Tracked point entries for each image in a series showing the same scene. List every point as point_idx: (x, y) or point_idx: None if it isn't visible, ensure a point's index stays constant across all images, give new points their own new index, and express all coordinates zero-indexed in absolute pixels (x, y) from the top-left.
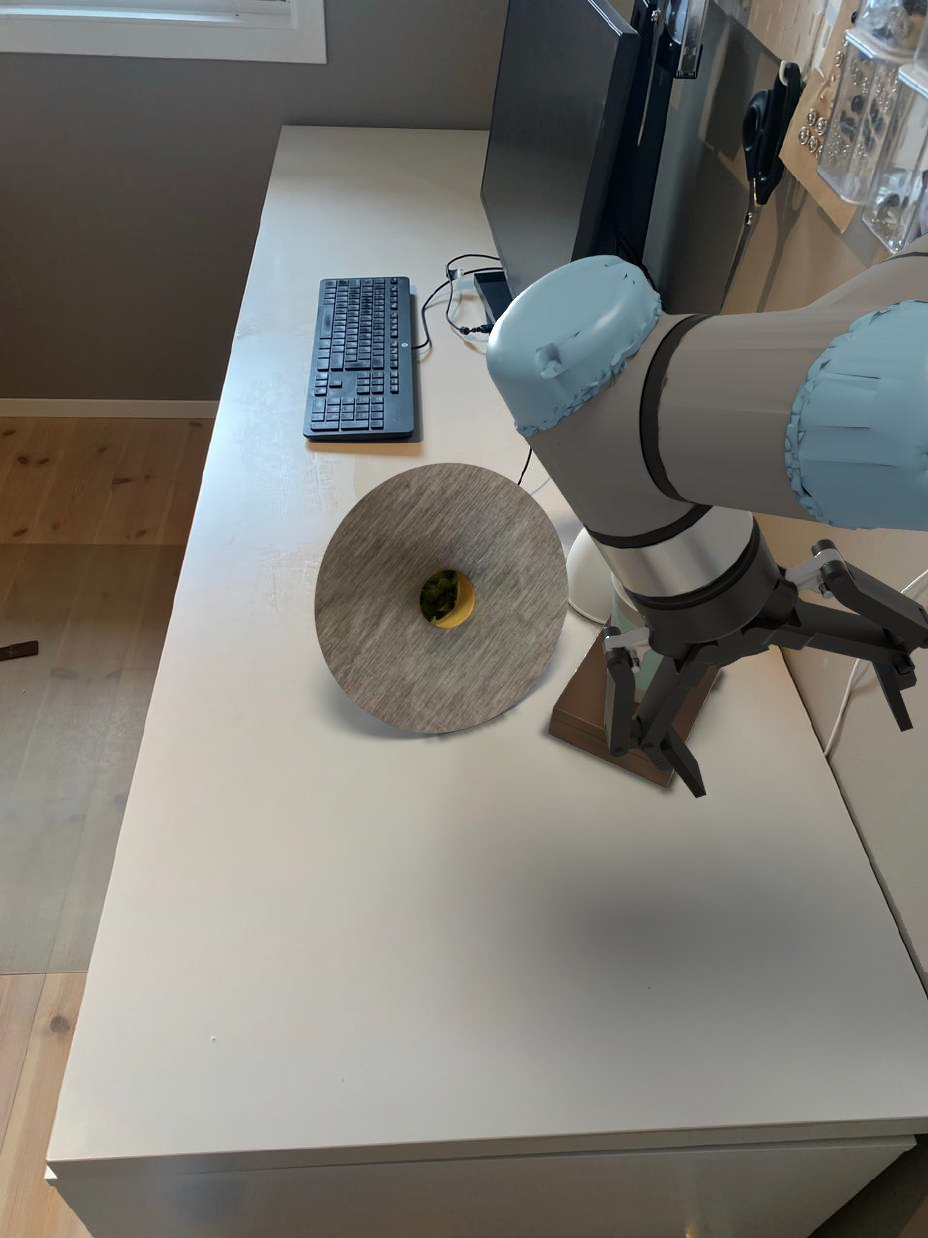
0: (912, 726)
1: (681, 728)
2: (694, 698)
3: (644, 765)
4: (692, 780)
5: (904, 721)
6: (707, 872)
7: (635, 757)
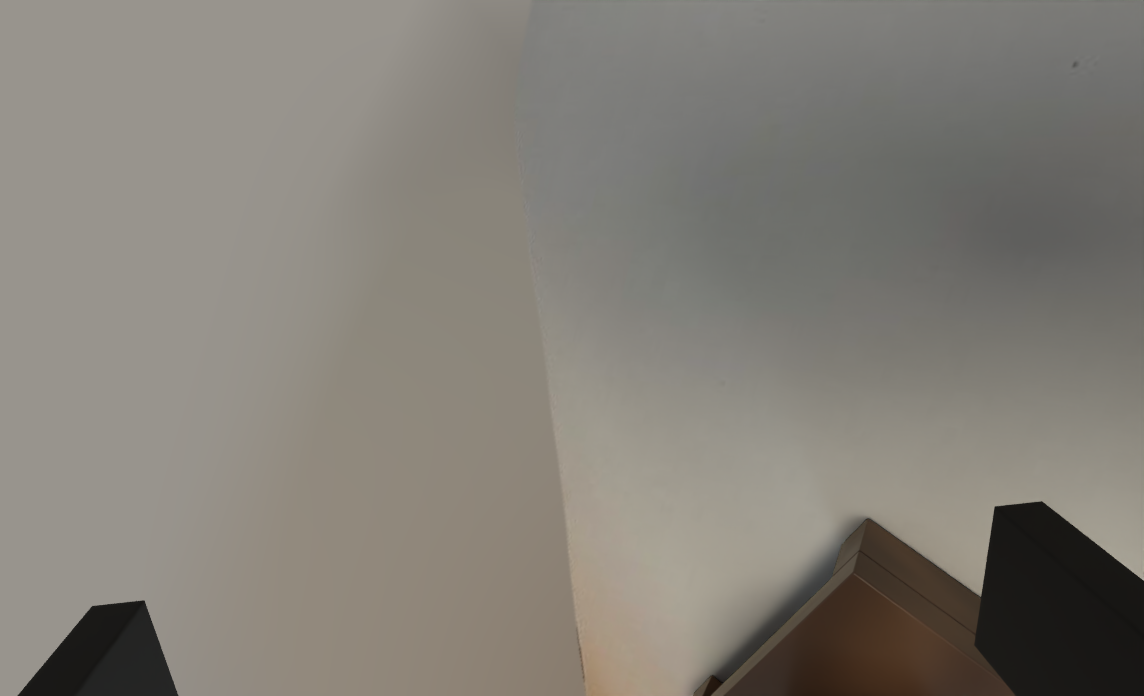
0: (83, 617)
1: (816, 637)
2: (767, 685)
3: (915, 577)
4: (1124, 604)
5: (73, 658)
6: (833, 331)
7: (936, 601)
